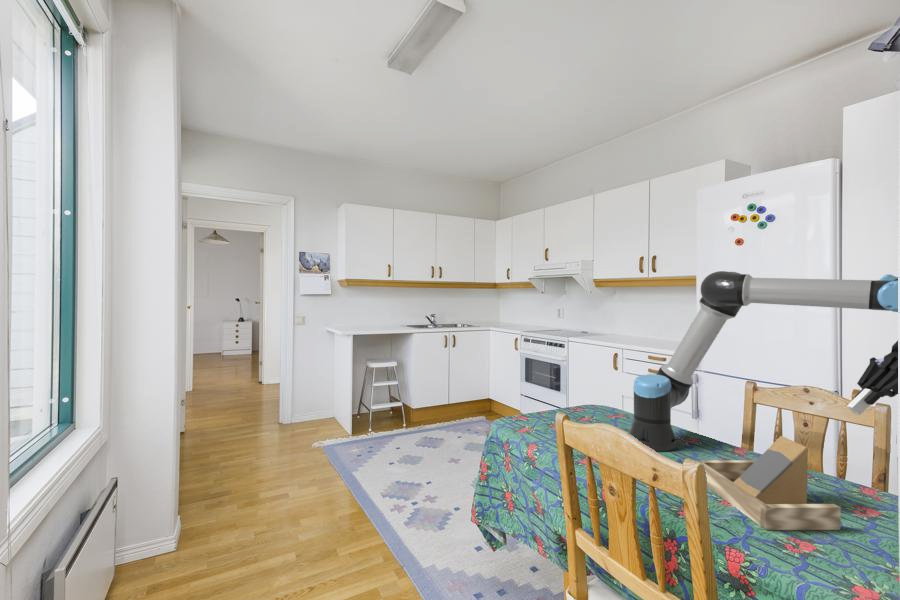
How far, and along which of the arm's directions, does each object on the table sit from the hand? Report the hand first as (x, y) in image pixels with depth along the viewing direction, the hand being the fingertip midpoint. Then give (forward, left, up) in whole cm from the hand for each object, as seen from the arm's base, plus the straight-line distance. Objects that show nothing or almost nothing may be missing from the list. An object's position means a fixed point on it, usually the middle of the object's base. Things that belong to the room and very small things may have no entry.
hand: (853, 410), depth 105 cm
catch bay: (0, -24, -23) cm, 33 cm away
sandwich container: (-2, -22, -23) cm, 32 cm away
